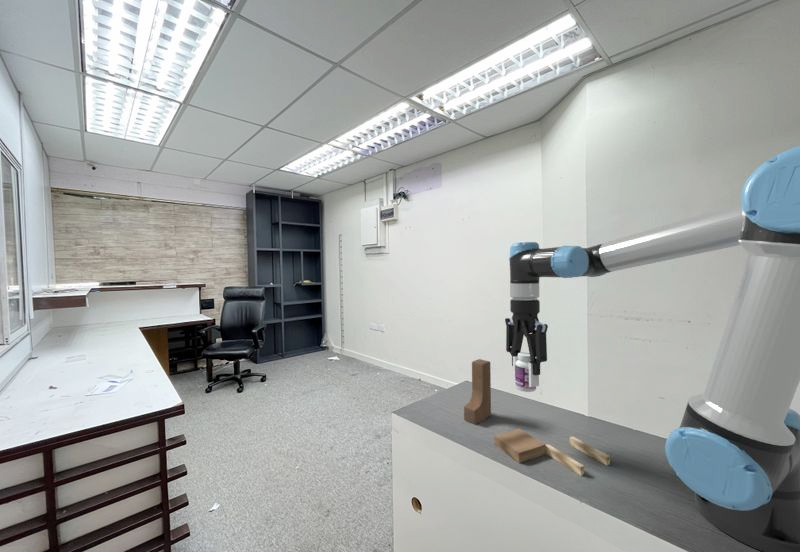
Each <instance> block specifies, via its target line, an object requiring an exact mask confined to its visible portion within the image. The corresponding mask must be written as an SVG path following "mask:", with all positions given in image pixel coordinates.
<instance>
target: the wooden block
mask: <svg viewBox="0 0 800 552" xmlns="http://www.w3.org/2000/svg"><path fill="white" fill-rule="evenodd" d="M491 373H492V372H491V361H488V360H484V359H481V358H480V359H479V358H478V359H476V360H474V361H471V397H470V400H469V401H468V402H467V404H465V405H464V406H463V419H464V421H466V422H469V423H471V424H472V425H473V424H474V425H477V424H478V423H480V422H482V421H483V420H486V419H487V418H489V417H491V415H492V401H491V400H492V396H491V395H492V394H491V393H492V390H491V389H492V388H491V386H492V384H491V379H492V378H491Z"/></svg>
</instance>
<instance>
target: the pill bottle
mask: <svg viewBox="0 0 800 552" xmlns="http://www.w3.org/2000/svg"><path fill="white" fill-rule="evenodd" d="M518 359H519V360H517V361H516V363H515V380H514V382H515V389H516V390H518V391H520V392H526V393H531V392H532V393H533V392H535V391H536V390H537V386H536V387H529V361H531V358H530V353H529V352H521V353H518Z"/></svg>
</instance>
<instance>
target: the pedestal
mask: <svg viewBox="0 0 800 552" xmlns="http://www.w3.org/2000/svg"><path fill="white" fill-rule="evenodd" d="M493 440H494V445H495V446H496V447H497V448H498V449H499V450H502V452H504V453H505V454H506V455H508V456H509V457H510V458H512V459H513V460H515V461H516V462H517V463H519V464H520V463H523V462H526V461H529V460H532V459H535V458H538V457H541V456H544V455H547V454H546V445H547V444H546V443H544V442H542V441H541V440H539V439H537V438H536V437H534V436H533V435H531V434H529V433H528V432H526V431H524V430H523V429H521V428H516V429H513V430H510V431H506V432H505V431H504V432H502V433H499V434H498V433H497V434H496V435H494V438H493Z"/></svg>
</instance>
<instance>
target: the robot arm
mask: <svg viewBox="0 0 800 552" xmlns="http://www.w3.org/2000/svg"><path fill="white" fill-rule="evenodd" d="M737 246H741V247H742V248H743V249H744V250H746V251H745V252H747V258H746V262H745V264H744V268H743V271H742V274H741V276H740V280H739V284H738V286H737V289H736V293H735V296H734V298H733V303H732V304H731V305H732V306H731V308H730V311H729V314H728V318H727V320H726V323H725V327H724V330H723V333H722V336H721V340H720V343H719V346H718V349H717V352H716V355H715V358H714V362H713V365H712V368H711V371H710V373H709V377H708V380H707V383H706V386H705V389H704V393H701V394H696V395H693V396H692V395H691V396H690V397H689V399H688V401H687V404H686V407H685V411H684V413H683V417H682V420H681V422H680V425H679V426H678V428H675V429H674V430H672V431H670V434H669V435H668V437H667V438H666V441H665V444H664V445H665V447H664V449H665V451H664V452H665V455H666V458H667V459H666V460H667V461H668V464H669V465H670V467H671V469H673V470H674V472H675V473H676V475H677V477H678V478H679V479H680V480H681V481H682V482H683V483H684V484H685V485H686V486H687V487H688V488H689V489H690V490H692V492H694V504H695V507H696V509H697V511H698V512H699V513H700V514H701V516H702V517H704V518H705V519H706V520H707V521H708V522H709V523H710V524H712V525H713V526H715V528H717V529H718V530H720V531H722V532H723V533H725V534H726V535H729V536H730V537H731V538H733V539H736V540H737V541H739V542H741V543H743V544H745V545H748V546H749V547H751V548H753V549H757V550H759V551H761V552H800V414H799V413H798V412H797V411H796V410H793V409H791V407H790V406H791V405H792V401H793V399H794V396H795V394H796V392H797V389H798V386H799V383H800V145H799V146H795V147H792V148H790V149H788V150H785V151H783V152H780V153H778V154H776V155H775V156H772V158H769V159H768V160H766V161H764V163H761V164H760V166H758V167H757V168H756V169H755V170H754V171H753V172H752V173H751V174H750V175H749V177H748V178H747V180H746V181H745V183H744V184H743V187H742V190H741V194H740V202H739V203H737V204H733V205H730V206H726V207H723V208H719V209H716V210H713V211H710V212H706V213H702V214H700V215H699V214H698V215H696V216H692V217H688V218H685V219H682V220H679V221H674V222H671V223H667V224H665V225H661V226H658V227H655V228H651V229H647V230H644V231H641V232H638V233H634V234H631V235H627V236H623V237H621V238H617V239H614V240H613V239H612V240H610V241H606V242H604V243H600V244H596V245H592V246H589V247H582V246H580V245H562V246H557V247H556V246H554V247H547V248H540V244H539V243H538V242H536V241H523V242H516V243H515V242H514V243H512V244H511V245H510V249H509V259H508V260H509V273H510V274H509V276H510V278H509V280H510V282H509V297H510V298H512V299H510V303H509V304H510V305H509V307H510V309H509V310H510V312H511V313H512V316H511V317H508V318H507V317H506V318H505V319H504V320H505V321H504V322H505V327H506V331H505V334H506V337H505V338H506V339H505V341H506V343H505V344H506V347H505V351H506V352H507V353H509V354H510V356H511V366H512V379H513V380H514V381H515V363H516V361H517V360H519V359H518V353H522V352H521V351H522V345H523V341H524V337H525V338H526V342H527V347H528V353H530V358H531V361H529V387H536V388H537V387H539V386H540V378H539V377H540V375H541V363H544V362H547V361H548V347H547V345H548V344H547V331H548V328H549V325H548V324H547V323H542V322H540V321H539V317H538V315H539V313H540V310H541V309H540V308H541V307H540V306H541V304H540V300H539V298H540V278H562V279H572V278H580V277H587V278H595V277H601V276H604V275H606V274H609V273H612V272H617V271H622V270H626V269H632V268H637V267H641V266H645V265H646V266H647V265H650V264H655V263H660V262H665V261H669V260H674V259H679V258H684V257H689V256H695V255H700V254H704V253H709V252H714V251H719V250H723V249H724V250H725V249H727V248H732V247H737Z"/></svg>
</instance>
